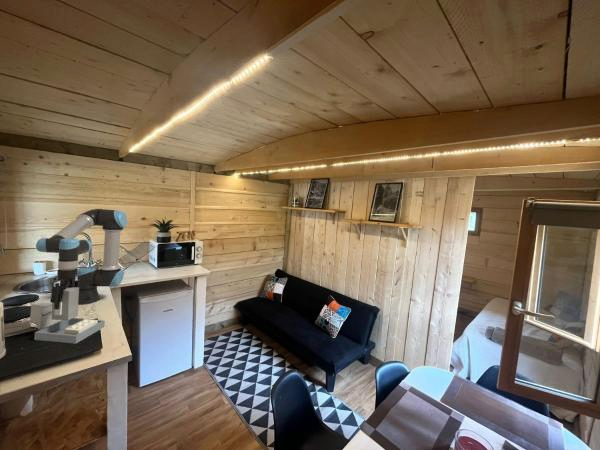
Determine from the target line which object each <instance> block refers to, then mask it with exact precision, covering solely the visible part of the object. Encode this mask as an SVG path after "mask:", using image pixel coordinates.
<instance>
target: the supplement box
mask: <svg viewBox="0 0 600 450" xmlns="http://www.w3.org/2000/svg"><path fill="white" fill-rule="evenodd" d="M30 322H31V323H34V324H36V325H37V327H38V329H37V330H41V329H44V328H46V327H48V326H50V325H52V324H55V323H56V320H52V303H51V302H50V300H43V301H39V302H36V303H32V304H31V305H30V316H29V323H30Z"/></svg>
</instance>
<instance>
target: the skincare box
mask: <svg viewBox="0 0 600 450" xmlns="http://www.w3.org/2000/svg"><path fill="white" fill-rule="evenodd" d="M78 298H79V288H78V287H73V288H69V287H67V288H66V289H65V290H64V291H63V297H62V300H61V302H62V314H61V315H55V309H54V304H55V303H52V320H55V321H61V320H70V319H72V318H78V315H79V304H78Z"/></svg>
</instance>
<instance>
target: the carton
mask: <svg viewBox="0 0 600 450" xmlns="http://www.w3.org/2000/svg"><path fill="white" fill-rule="evenodd" d="M83 319H84V320H82V321H80V322H78V323H76V324H74V325H72V326H70V327H68V328H66V329H65V330H64V334H70V335H77V334H79V333H81V332H83V331H84V330H86V329H88V328H90V327H92V326H94V325H95V324H97V323H98V320H99V319H94V320H89V319H90V318H83Z"/></svg>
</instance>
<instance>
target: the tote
mask: <svg viewBox="0 0 600 450" xmlns="http://www.w3.org/2000/svg"><path fill="white" fill-rule="evenodd" d="M84 319H85V318H82V317H81V318H80V317H74V318H72V319H70V320H58V321H57V322H55V324H52V325H50V326H48V327H45V328H42V329H38V330H37V331H35V332H34V337H33V339H34V341H41V342H52V343H53V342H54V343H62V344H63V343H65V344H74V345H76V344H78V343H80V342H81V341H84V339H86V338H88V337H89V336H92V335H93V334H94V333H97V332H98V331H101V330H102V329H103V328H105V320H104V319H97V320H98V323H97V324H95V325H94V326H92V327H90V328H88V329H86V330H84V331H83V332H81V333H79V334H77V335H70V334H64V330H65V329H66V328H68V327H70V326H72V325H74V324H76V323H78V322H80V321H82V320H84ZM88 319H89V320H95V318H94V319H92V318H91V319H90V318H88Z"/></svg>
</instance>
